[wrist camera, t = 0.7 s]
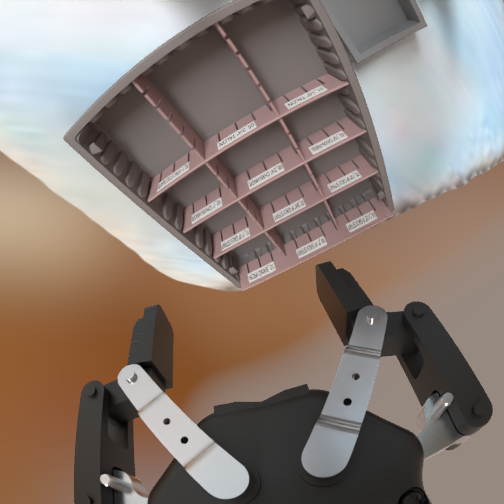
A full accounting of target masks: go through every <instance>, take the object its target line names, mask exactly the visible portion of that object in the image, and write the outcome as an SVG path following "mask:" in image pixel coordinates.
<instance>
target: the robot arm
mask: <svg viewBox="0 0 504 504" xmlns="http://www.w3.org/2000/svg"><path fill="white" fill-rule="evenodd" d="M316 284H317V293H318V296H319V299H320V301H321V303H322V304H323V306H324V308H325V310H326V312H327V314H328V316H329V318H330V320H331V321H332V323H333V325H334V327H335V329H336V331H337V333H338V335H339V337H340V338H341V341H342V342H343V344H344V346H346V345H348V347H346V349H345V351H344V354H343V357H342V360H341V363H340V366H339V369H338V371H337V375H336V377H335V380H334V383H333V385H332V388H331V390H330V392H328V391H324V390H314V389H313V390H309V389H308V386H307V384H305V385H301V386H298V387H295V388H291V389H287V390H284V391H282V392H280V393H278V394H276V395H274V396H272V397H270V398H268V399H266V400H264V401H262V402H233V403H229V404H223V405H218V406H214V413H213V414H210V415H209V416H207V417H205V418H204V419H203V420H202V421H200V422H199V423H198V424H197V425H196V424H195V423H193V422H192V421H191V420H190V419H189V418H188V417H187V416H186V415H185V414H184V413H183V412H182V411H181V410H180V409H179V408H178V407H177V406H176V405H175V404H174V403H173V402H172V401H171V399H170V398H169V397H168V396H167V395H166V394H165V389H169V388H172V386H173V385H172V384H173V381H172V380H173V378H172V377H173V374H172V373H173V330H172V327H171V324H170V322H169V321H168V319H167V317H166V315H165V313H164V311H163V309H162V308H161V306H160V305H154V306H150V307H146V308H145V309H144V316H143V318H142V319H138V321H137V322H136V324H135V326H134V328H133V337H132V340H131V342H132V343H131V346H130V352H129V358H128V365H127V366H126V367H125V368H123V369H122V370H121V372H120V373H119V375H118V379H117V380H115V381H113V382H110V383H108V384H106V385H103V384H102V383H101V382H100V381H91V382H89V383H87V384H86V385H85V386H84V388H83V390H82V392H81V398H80V406H79V414H78V423H77V433H76V445H75V464H74V502H75V504H432V503H431V502H430V500H429V498H428V496H427V495H426V493H425V490H424V487H423V481H422V468H423V461H424V460H426V459H428V458H430V457H432V456H434V455H436V454H438V453H439V452H441V451H443V450H452V449H455V448H457V447H458V446H459V445H461V444H462V443H463V442H464V441H466V440H467V439H468V438H470V437H471V436H472V435H473V434H475V433H476V432H477V431H478V430H480V429H481V428H482V427H483V426H484V425H485V424H486V423H488V421H489V420H490V418H491V416H492V411H493V409H492V404H491V402H490V400H489V398H488V397H487V394H486V393H485V391H484V389H483V387H482V386H481V384H480V382H479V381H478V379H477V377H476V376H475V374H474V372H473V371H472V369H471V367H470V366H469V364H468V363H467V361H466V360H465V358H464V356H463V355H462V353H461V352H460V351H459V349H458V347H457V346H456V344H455V343H454V341H453V340H452V338H451V337H450V335H449V334H448V332H447V331H446V330H445V328H444V327H443V325H442V324H441V323H440V321H439V320H438V318H437V317H436V316H435V314H434V313H433V312H432V310H431V309H430V308H429V306H427V305H426V304H425V303H422V302H411V303H409V304H407V306H406V307H405V309H404V311H400V312H385V310H384V309H382V308H381V307H379V306H375V305H373V304H372V302H371V301H370V299H369V298H368V297H367V295H366V294H365V293H364V291H363V290H362V288H361V287H360V286H359V284H358V283H357V281H355V279H354V277H353V276H352V275H351V273H349V272H348V271H346V270H344V269H343V268H341V269H338V270H336V268H335V267H334V266H333V264H332V263H331V262H330V261H329V262H325V263H322V264H318V265H316ZM393 355H396V356H397V358H398V360H399V362H400V364H401V366H402V368H403V370H404V372H405V374H406V376H407V377H408V379H409V381H410V383H411V385H412V387H413V389H414V392H415V393H416V395H417V398H418V400H419V402H420V404H421V406H422V408H421V409H420V411H419V412H418V415H417V424H418V433H417V436H416V435H414V434H413V433H412V432H410V431H409V430H406V429H404V428H402V427H400V426H398V425H396V424H394V423H391V422H389V421H387V420H385V419H383V418H381V417H379V416H377V415H375V414H373V413H371V412H369V411H367V410H366V409H367V406H368V402H369V399H370V396H371V392H372V388H373V385H374V381H375V377H376V373H377V369H378V365H379V360H380V357H383V356H393ZM137 417H141V418H142V420H143V421H144V422H145V423H146V425H147V426H148V427H149V428H150V430H151V431H152V432H153V433H154V434H155V436H156V437H157V438H158V439H159V440H160V442H161V443H162V444H163V445H164V446H165V447H166V448H167V449H168V451H169V452H170V453H171V454H172V455H173V456H174V457H175V458H174V459H173V461H172V462H171V463H170V465H169V467H168V468H167V469H166V471H165V472H164V473H163V475H162V476H161V478H160V479H159V480H158V482H157V483H156V485H155V486H154V487H153V489H152V491H151V492H150V494H149V496H148V495H147V493H146V491H145V487H144V485H143V483H142V482H141V481H140V480H139V479H138V478H136V477H135V466H134V465H135V464H134V443H133V419H135V418H137Z"/></svg>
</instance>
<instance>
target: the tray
mask: <svg viewBox="0 0 504 504" xmlns="http://www.w3.org/2000/svg"><path fill="white" fill-rule="evenodd" d="M320 1H321V2H322V4H323V6H324V8H325V10H326V12H327V13H328V15H329V17H330V19H331V21H332V23H333V25H334V27H335V29H336V31H337V33H338V35H339V37H340V40H341V42H342V44H343V46H344V48H345V51H346V53H347V55H348V57H349V60H351V61H353V62H355V63H359V62H361V61H363V60H364V59H366V58H368V57H369V56H371V55H373V54H375V53H376V52H378V51H380V50H382V49H384V48H385V47H387V46H389V45H391V44H393V43H395V42H396V41H398V40H400V39H402V38H404V37H406V36H408V35H410V34H412V33H414V32H416V31H418V30H420V29H422V28H424V27H426V26H427V24H426V22H425V20H424V18H423V16H422V13H421V11H420V9H419V7H418V5H417V3H416V1H415V0H320Z"/></svg>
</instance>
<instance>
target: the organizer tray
mask: <svg viewBox="0 0 504 504" xmlns="http://www.w3.org/2000/svg"><path fill="white" fill-rule="evenodd" d="M63 139H64V140H65V141H66V142H67V143H68V144H69V145H70V146H71V147H72V148H73V149H74V150H75V151H77V152H78V153H79V154H80V155H81V156H82V157H83V158H84V159H85V160H86V161H88V162H89V163H90V164H91V165H92V166H93V167H94V168H95V169H96V170H98V171H99V172H100V173H101V174H102V175H103V176H104V177H105V178H107V179H108V180H109V181H110V182H111V183H112V184H113V185H115V186H116V187H117V188H118V189H119V190H120V191H121V192H123V193H124V194H125V195H126V196H127V197H128V198H130V199H131V200H132V201H133V202H134V203H135V204H137V205H138V206H139V207H140V208H141V209H142V210H144V211H145V212H146V213H147V214H148V215H150V216H151V217H152V218H153V219H154V220H155V221H157V222H158V223H159V224H160V225H161V226H163V227H164V228H165V229H166V230H167V231H169V232H170V233H171V234H172V235H173V236H175V237H176V238H177V239H178V240H180V241H181V242H182V243H183V244H184V245H186V246H187V247H188V248H189V249H191V250H192V251H193V252H194V253H196V254H197V255H198V256H199V257H200V258H202V259H203V260H204V261H205V262H207V263H208V264H209V265H210V266H212V267H213V268H214V269H215V270H217V271H218V272H219V273H221V274H222V275H223V276H224V277H226V278H227V279H228V280H229V281H231V282H232V283H233V284H234V285H236V286H237V287H238V288H241V289H242V291H245V290H247V289H249V288H250V287H253V286H255V285H257V284H259V283H261V282H263V281H266V280H268V279H270V278H272V277H274V276H276V275H278V274H280V273H282V272H284V271H286V270H288V269H290V268H292V267H294V266H297V265H299V264H301V263H303V262H305V261H307V260H309V259H311V258H313V257H315V256H316V255H319V254H321V253H323V252H325V251H326V250H329V249H330V248H332V247H334V246H336V245H338V244H340V243H342V242H344V241H346V240H348V239H350V238H352V237H354V236H356V235H358V234H360V233H362V232H364V231H366V230H368V229H369V228H371V227H373V226H375V225H377V224H379V223H381V222H383V221H385V220H386V219H388V218H390V217H392V216H394V214H393V213H392V211H394V205H393V200H392V195H391V190H390V186H389V181H388V177H387V173H386V169H385V165H384V161H383V157H382V153H381V149H380V146H379V142H378V139H377V135H376V132H375V129H374V125H373V122H372V119H371V116H370V113H369V110H368V107H367V104H366V101H365V98H364V95H363V93H362V90H361V87H360V85H359V82H358V79H357V77H356V74H355V72H354V69H353V67H352V65H351V62H350V60H349V57H348V55H347V53H346V51H345V48H344V46H343V44H342V42H341V40H340V37H339V35H338V33H337V31H336V29H335V27H334V25H333V23H332V21H331V19H330V17H329V15H328V13H327V12H326V10H325V8H324V6H323V4H322V2H321V1H320V0H235V1H233V2H231V3H229V4H227V5H225V6H223V7H221V8H220V9H218V10H216V11H214V12H212V13H211V14H209V15H207V16H205V17H204V18H202V19H200V20H199V21H197V22H195V23H194V24H192V25H191V26H189V27H187V28H186V29H184V30H183V31H181V32H180V33H178V34H177V35H175V36H174V37H172V38H171V39H169V40H168V41H167V42H165V43H164V44H162V45H161V46H160V47H158V48H157V49H156V50H154V51H153V52H152V53H150V54H149V55H148V56H146V57H145V58H144V59H143V60H141V61H140V62H139V63H138V64H136V65H135V66H134V67H133V68H132V69H130V70H129V71H128V72H127V73H126V74H125V75H123V76H122V77H121V78H120V79H119V80H118V81H117V82H116V83H114V84H113V85H112V86H111V87H110V88H109V89H108V90H107V91H106V92H105V93H104V94H103V95H102V96H101V97H100V98H99V99H98V100H97V101H96V102H95V103H94V104H93V105H92V106H91V107H90V108H89V109H88V110H87V111H86V112H85V113H84V114H83V115H82V116H81V117H80V118H79V119H78V120H77V122H76V123H75V124H74V125H73V126H72V127H71V128H70V129H69V131H68V132H67V133H66V134H65V135H64V137H63Z"/></svg>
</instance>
